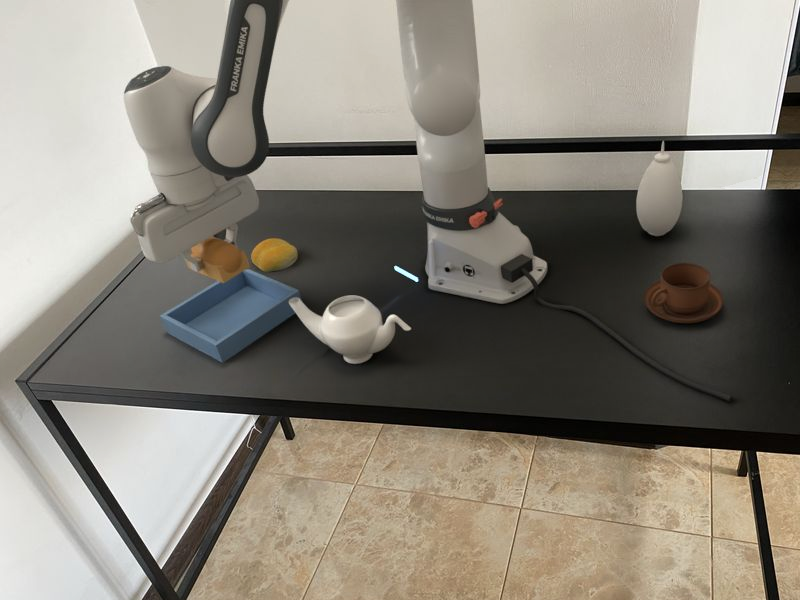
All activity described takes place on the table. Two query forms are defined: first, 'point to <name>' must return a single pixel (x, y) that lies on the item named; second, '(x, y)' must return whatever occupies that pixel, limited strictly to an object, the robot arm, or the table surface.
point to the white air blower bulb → (659, 196)
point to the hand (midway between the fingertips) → (216, 259)
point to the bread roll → (274, 255)
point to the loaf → (220, 259)
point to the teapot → (350, 327)
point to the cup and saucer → (684, 294)
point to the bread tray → (230, 314)
